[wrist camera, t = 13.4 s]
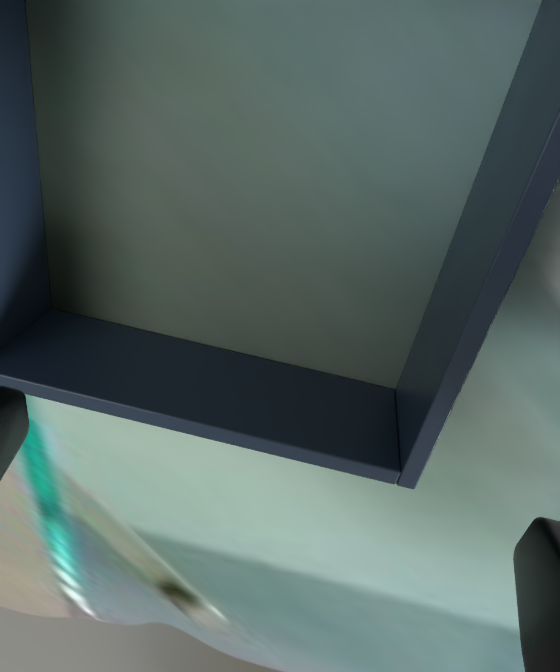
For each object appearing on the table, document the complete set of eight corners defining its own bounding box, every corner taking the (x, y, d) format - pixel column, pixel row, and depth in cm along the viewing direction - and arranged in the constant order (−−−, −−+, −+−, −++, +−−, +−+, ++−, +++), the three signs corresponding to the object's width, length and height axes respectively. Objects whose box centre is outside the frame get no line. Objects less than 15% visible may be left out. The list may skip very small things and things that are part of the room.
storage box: (607, -99, 13) (725, -173, 9) (406, 404, 22) (414, 490, 18) (-17, -215, 14) (-192, -333, 9) (38, 317, 23) (-38, 379, 18)
